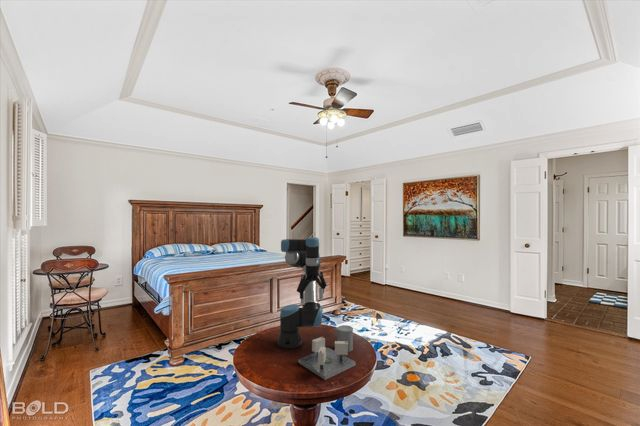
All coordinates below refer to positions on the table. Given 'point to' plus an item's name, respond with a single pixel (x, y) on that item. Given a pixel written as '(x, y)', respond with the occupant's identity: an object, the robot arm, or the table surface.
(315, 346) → the knob back
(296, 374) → the table surface
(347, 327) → the gray cylinder
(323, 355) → the knob
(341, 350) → the knob
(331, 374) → the grey flat square plate
